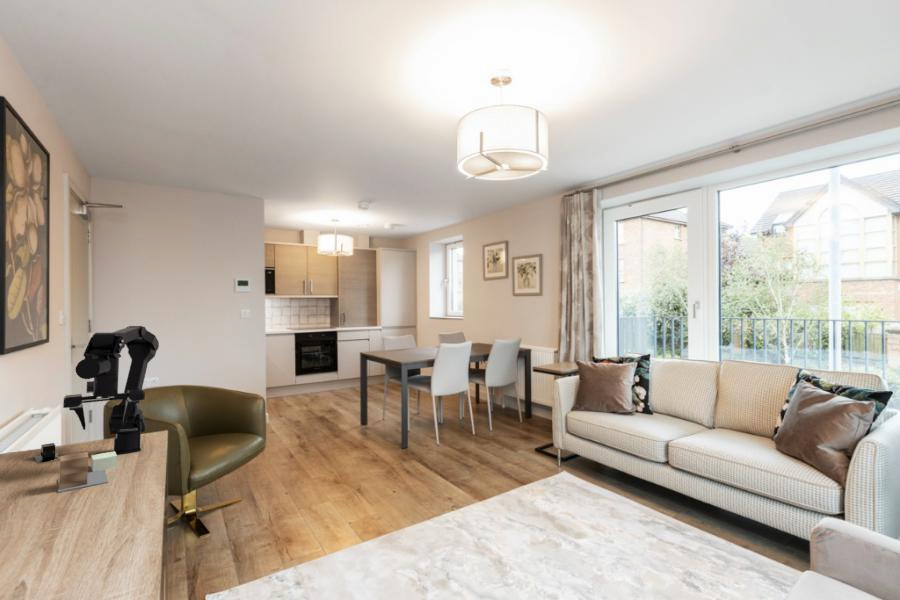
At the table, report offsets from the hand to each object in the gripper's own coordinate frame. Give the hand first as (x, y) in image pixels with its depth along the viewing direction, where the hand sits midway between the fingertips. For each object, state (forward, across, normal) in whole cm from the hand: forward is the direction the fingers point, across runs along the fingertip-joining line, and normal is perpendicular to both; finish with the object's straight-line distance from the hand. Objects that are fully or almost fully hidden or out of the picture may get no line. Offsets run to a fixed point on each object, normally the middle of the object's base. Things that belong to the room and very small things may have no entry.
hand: (104, 426), depth 127 cm
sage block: (+12, 0, 0) cm, 12 cm away
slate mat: (+12, +5, +10) cm, 16 cm away
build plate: (+13, +13, -22) cm, 28 cm away
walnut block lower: (+12, +7, +12) cm, 18 cm away
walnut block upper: (+8, +7, +12) cm, 16 cm away
